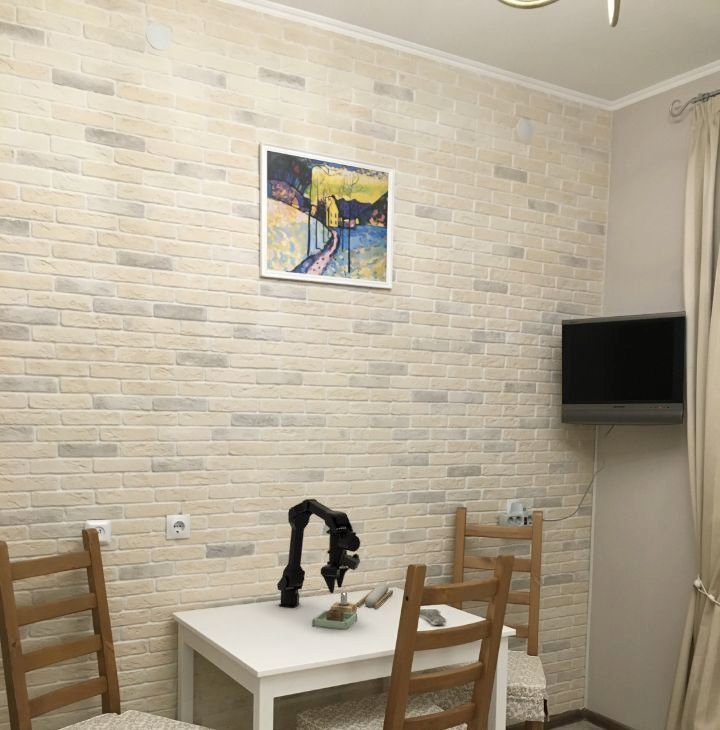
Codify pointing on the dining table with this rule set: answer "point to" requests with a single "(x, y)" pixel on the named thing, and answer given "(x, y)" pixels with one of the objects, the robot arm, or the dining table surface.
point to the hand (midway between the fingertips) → (335, 590)
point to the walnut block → (335, 615)
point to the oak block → (345, 607)
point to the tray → (322, 622)
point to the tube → (376, 594)
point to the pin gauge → (343, 598)
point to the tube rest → (378, 601)
